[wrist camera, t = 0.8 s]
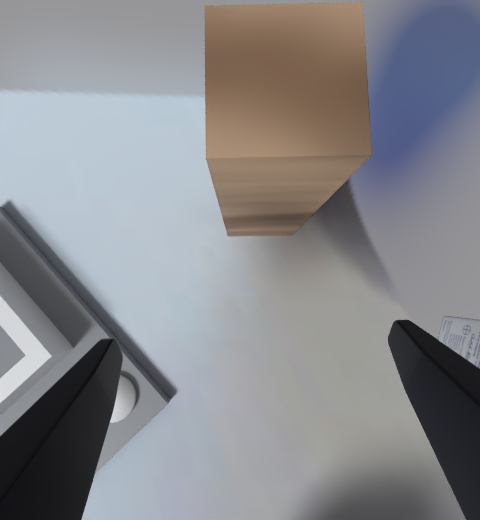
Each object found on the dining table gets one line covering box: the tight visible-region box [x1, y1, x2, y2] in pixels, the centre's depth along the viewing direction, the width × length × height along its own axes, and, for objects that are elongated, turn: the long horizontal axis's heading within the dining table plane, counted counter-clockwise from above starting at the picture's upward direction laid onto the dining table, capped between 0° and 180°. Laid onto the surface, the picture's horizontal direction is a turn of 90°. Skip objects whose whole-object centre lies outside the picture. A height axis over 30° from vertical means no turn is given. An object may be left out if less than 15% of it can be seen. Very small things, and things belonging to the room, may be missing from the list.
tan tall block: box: [205, 2, 372, 236], centre depth 16 cm, size 6×5×14 cm
